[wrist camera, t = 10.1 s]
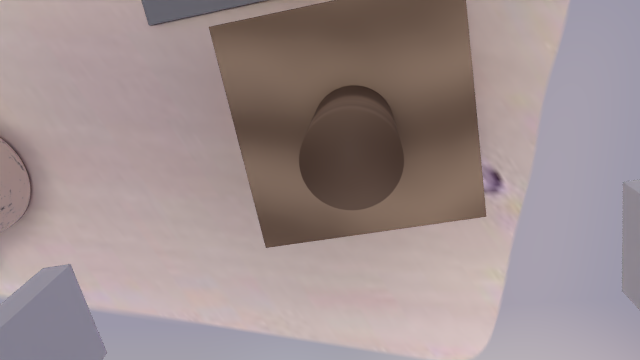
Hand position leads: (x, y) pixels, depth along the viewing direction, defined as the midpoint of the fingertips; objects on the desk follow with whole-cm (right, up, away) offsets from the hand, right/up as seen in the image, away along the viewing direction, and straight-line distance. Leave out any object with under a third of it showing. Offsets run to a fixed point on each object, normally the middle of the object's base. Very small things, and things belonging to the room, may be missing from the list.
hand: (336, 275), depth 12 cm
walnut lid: (+2, +6, +16) cm, 17 cm away
